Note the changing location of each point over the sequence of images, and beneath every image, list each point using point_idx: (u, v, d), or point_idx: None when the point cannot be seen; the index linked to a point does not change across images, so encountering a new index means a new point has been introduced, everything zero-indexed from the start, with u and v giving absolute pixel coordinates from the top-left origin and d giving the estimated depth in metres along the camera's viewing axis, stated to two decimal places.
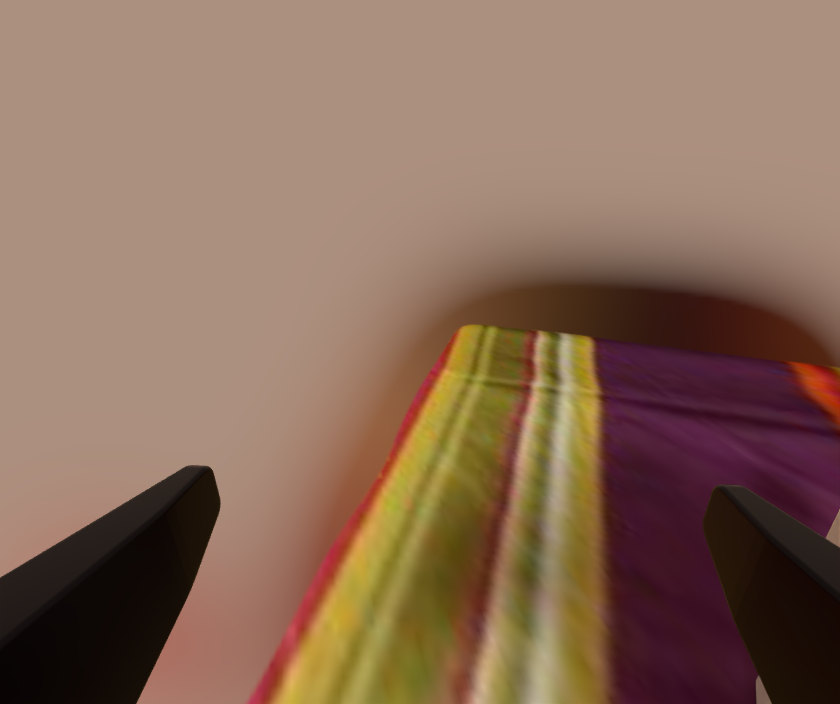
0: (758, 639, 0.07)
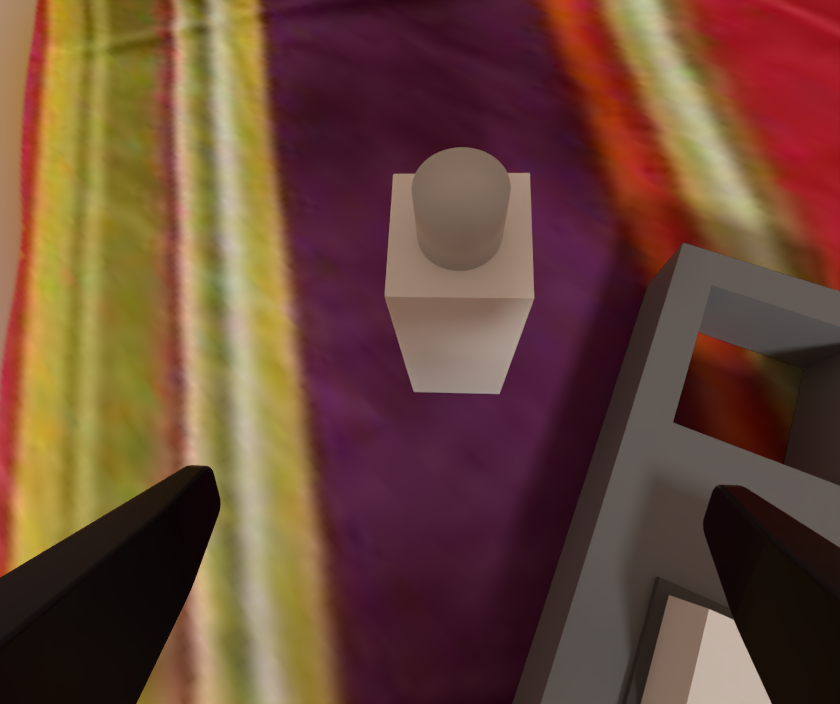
0: (758, 639, 0.07)
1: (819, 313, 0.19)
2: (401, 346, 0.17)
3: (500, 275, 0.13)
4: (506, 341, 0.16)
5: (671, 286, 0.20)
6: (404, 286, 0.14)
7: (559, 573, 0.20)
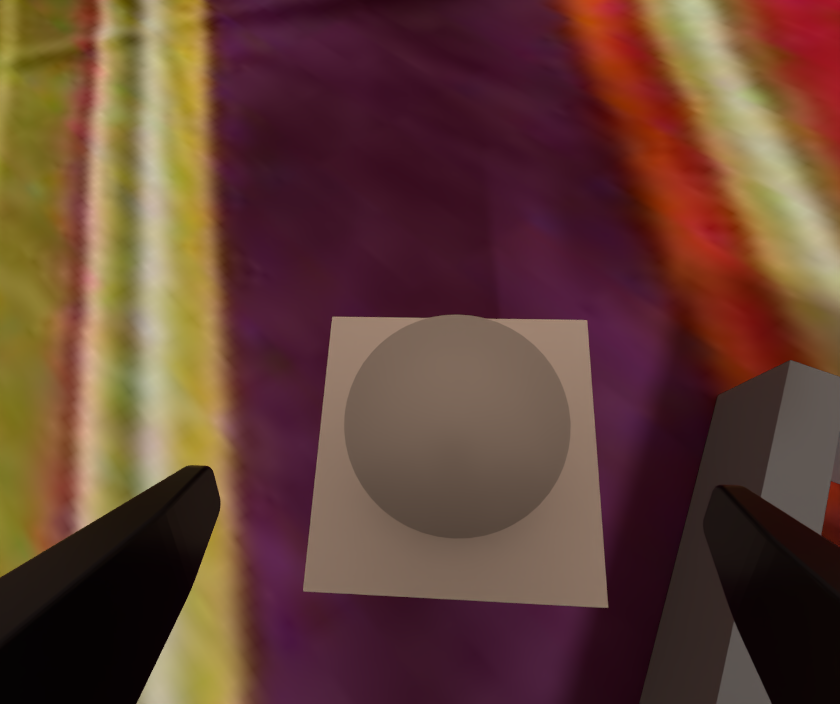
0: (758, 639, 0.07)
1: None
2: None
3: (536, 549, 0.07)
4: None
5: (777, 431, 0.13)
6: (343, 568, 0.07)
7: None
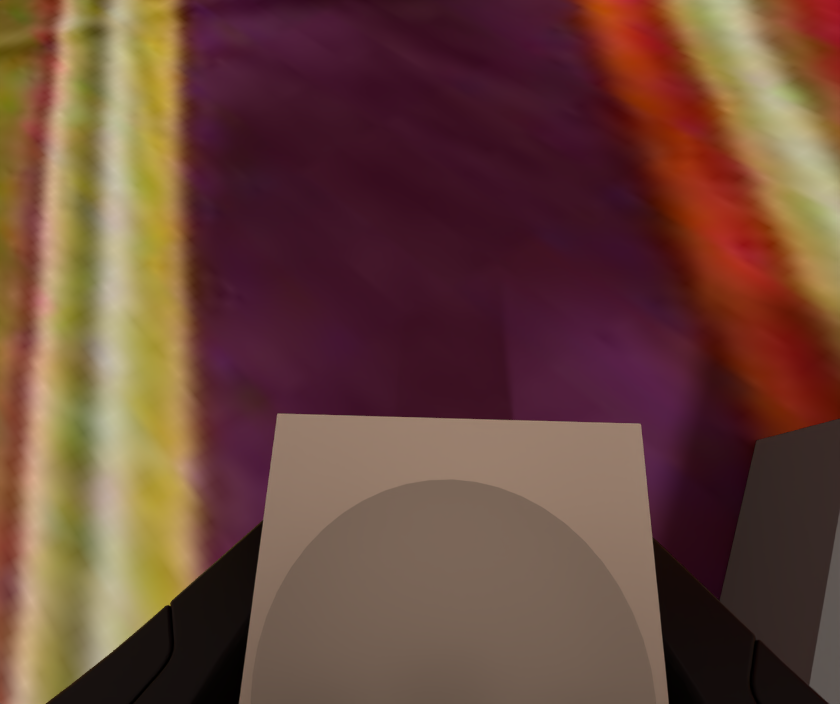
0: None
1: None
2: None
3: None
4: None
5: None
6: None
7: None
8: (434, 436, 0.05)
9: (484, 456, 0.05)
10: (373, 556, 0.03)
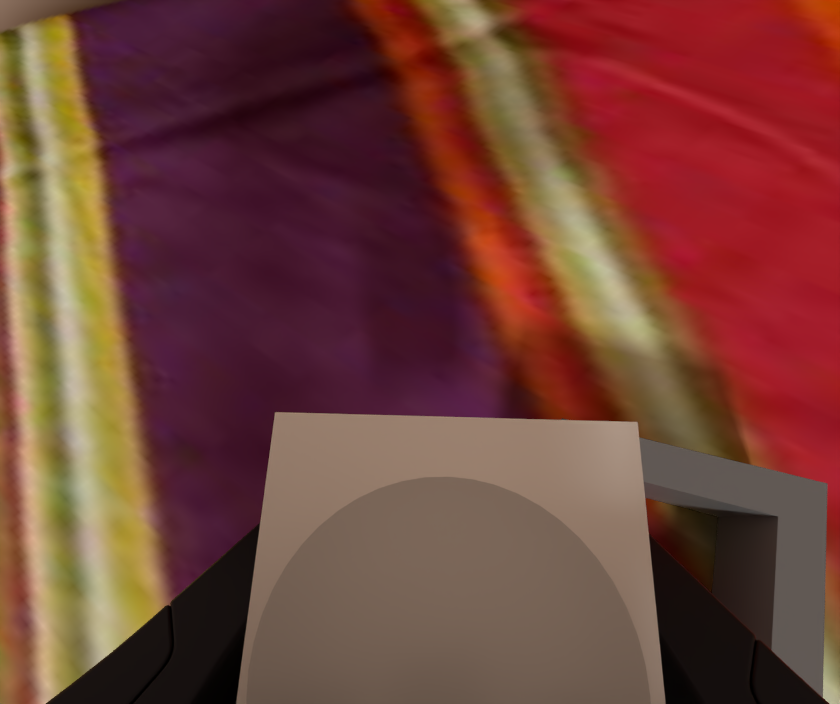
0: None
1: (716, 492, 0.17)
2: None
3: None
4: None
5: None
6: None
7: None
8: (432, 434, 0.05)
9: (482, 454, 0.05)
10: (369, 553, 0.03)
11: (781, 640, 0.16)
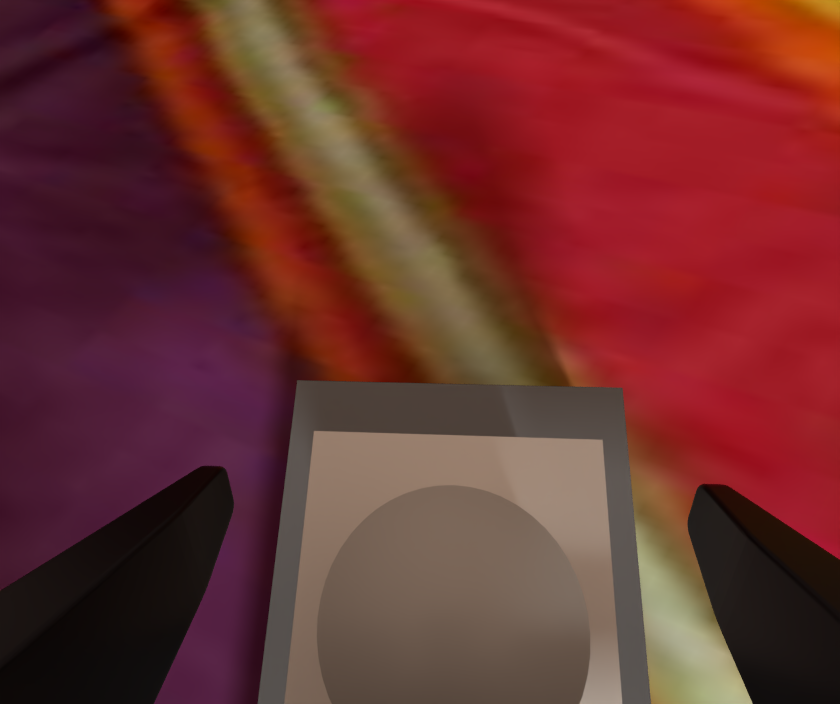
0: (740, 638, 0.07)
1: (492, 428, 0.13)
2: None
3: None
4: None
5: (290, 456, 0.13)
6: None
7: None
8: (439, 449, 0.07)
9: (479, 465, 0.07)
10: (399, 538, 0.05)
11: None
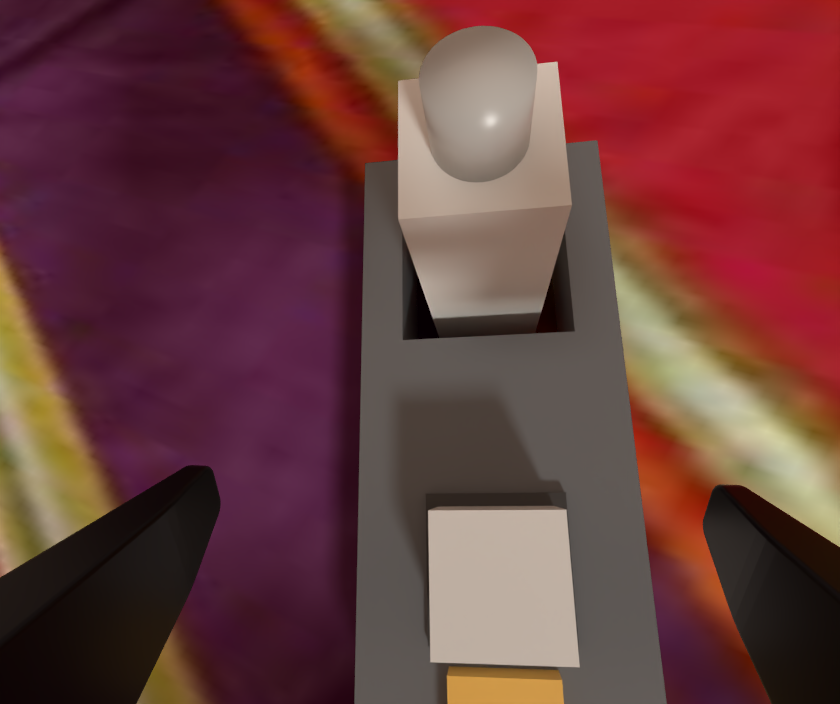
0: (758, 639, 0.07)
1: None
2: (423, 285, 0.16)
3: (530, 182, 0.12)
4: (540, 267, 0.14)
5: (366, 210, 0.19)
6: (420, 205, 0.12)
7: None
8: None
9: None
10: (451, 48, 0.10)
11: (576, 270, 0.18)
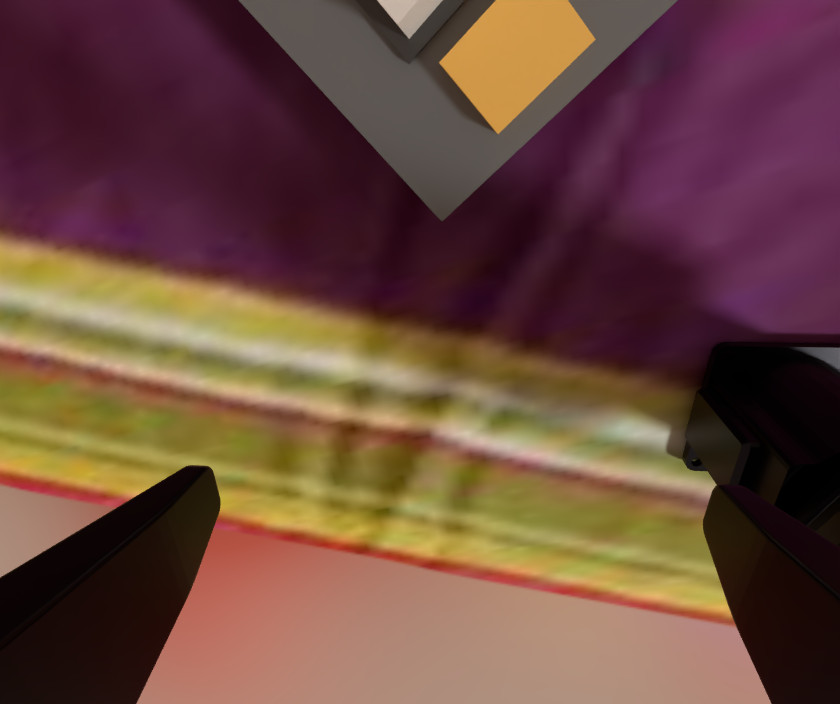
0: (758, 639, 0.07)
1: None
2: None
3: None
4: None
5: None
6: None
7: None
8: None
9: None
10: None
11: None
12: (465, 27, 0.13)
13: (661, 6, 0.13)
